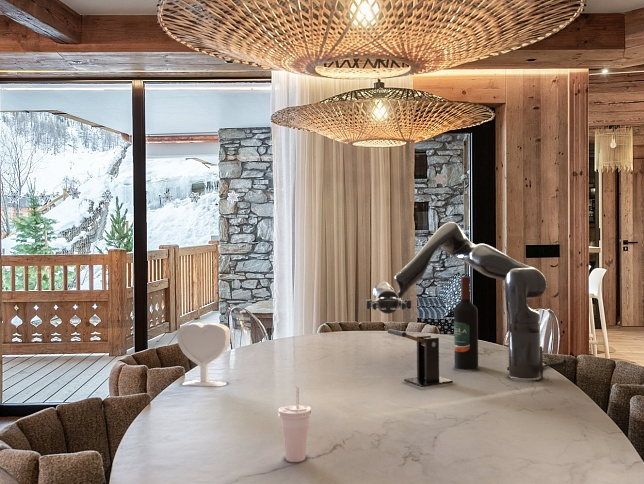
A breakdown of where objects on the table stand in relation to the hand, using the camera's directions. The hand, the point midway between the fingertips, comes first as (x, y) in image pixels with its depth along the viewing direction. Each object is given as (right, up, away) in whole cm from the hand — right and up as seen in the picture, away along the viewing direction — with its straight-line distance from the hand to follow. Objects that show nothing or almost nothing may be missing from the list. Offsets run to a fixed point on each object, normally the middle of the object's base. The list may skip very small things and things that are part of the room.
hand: (389, 306), depth 185 cm
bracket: (+11, -22, -8) cm, 26 cm away
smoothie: (-22, -23, -67) cm, 74 cm away
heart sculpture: (-55, -23, -5) cm, 60 cm away
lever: (+6, -9, -10) cm, 15 cm away
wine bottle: (+26, -22, +11) cm, 36 cm away
